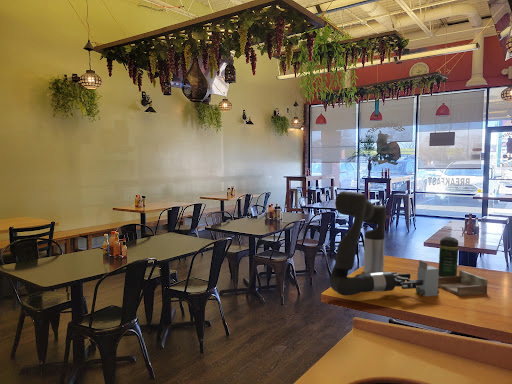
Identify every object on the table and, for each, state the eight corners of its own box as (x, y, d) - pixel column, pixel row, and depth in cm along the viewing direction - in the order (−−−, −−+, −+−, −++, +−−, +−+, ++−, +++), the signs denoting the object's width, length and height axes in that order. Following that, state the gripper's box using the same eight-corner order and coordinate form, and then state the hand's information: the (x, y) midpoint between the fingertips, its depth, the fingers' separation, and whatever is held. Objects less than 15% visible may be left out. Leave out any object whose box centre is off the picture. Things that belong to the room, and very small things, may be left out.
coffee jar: (456, 280, 180) (458, 240, 179) (437, 277, 184) (439, 238, 182) (457, 275, 188) (459, 236, 187) (439, 272, 192) (440, 235, 191)
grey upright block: (415, 292, 163) (416, 259, 162) (430, 291, 164) (431, 258, 163) (423, 296, 157) (425, 263, 156) (439, 295, 159) (440, 262, 158)
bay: (435, 285, 172) (435, 271, 172) (461, 283, 175) (461, 270, 175) (459, 296, 158) (460, 281, 158) (486, 293, 161) (487, 279, 161)
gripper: (390, 277, 148) (427, 275, 152) (371, 267, 162) (406, 265, 166) (389, 297, 149) (427, 293, 152) (370, 285, 163) (405, 282, 166)
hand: (416, 279), depth 159 cm, fingers open, 8 cm apart
